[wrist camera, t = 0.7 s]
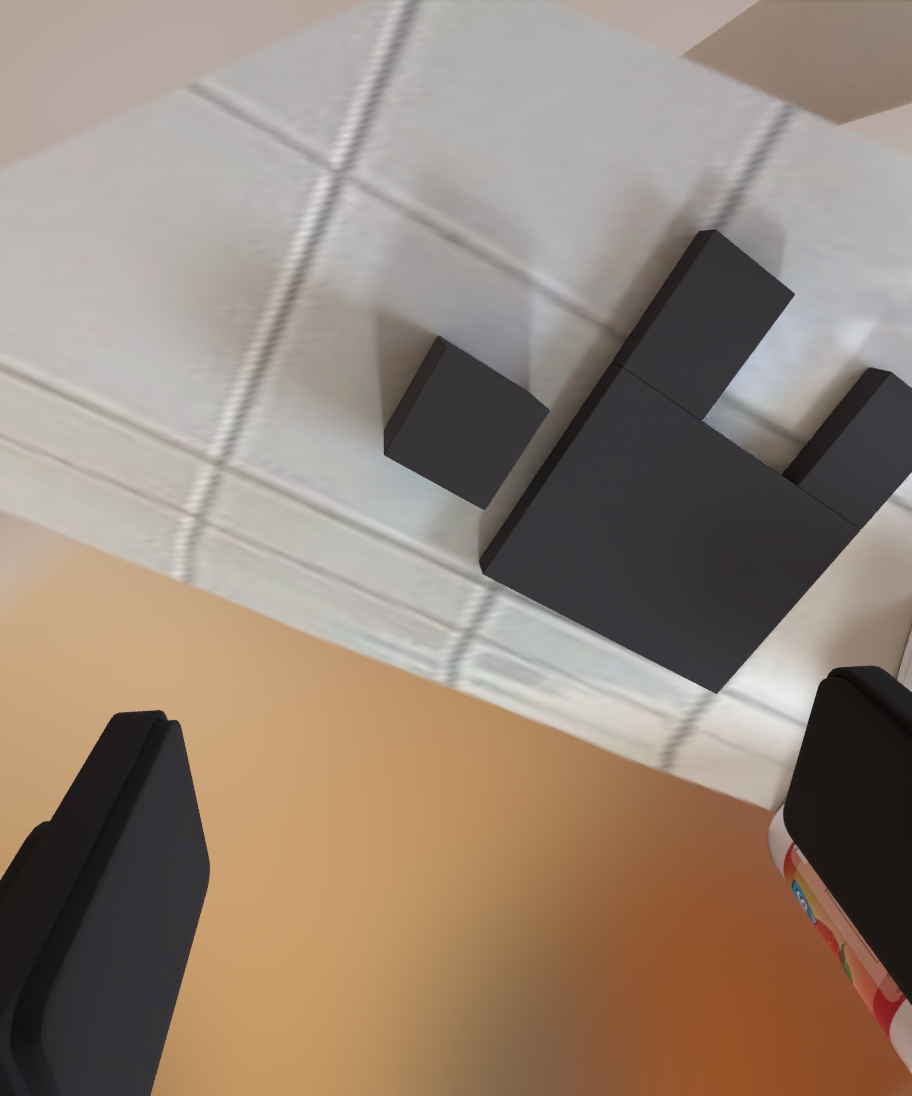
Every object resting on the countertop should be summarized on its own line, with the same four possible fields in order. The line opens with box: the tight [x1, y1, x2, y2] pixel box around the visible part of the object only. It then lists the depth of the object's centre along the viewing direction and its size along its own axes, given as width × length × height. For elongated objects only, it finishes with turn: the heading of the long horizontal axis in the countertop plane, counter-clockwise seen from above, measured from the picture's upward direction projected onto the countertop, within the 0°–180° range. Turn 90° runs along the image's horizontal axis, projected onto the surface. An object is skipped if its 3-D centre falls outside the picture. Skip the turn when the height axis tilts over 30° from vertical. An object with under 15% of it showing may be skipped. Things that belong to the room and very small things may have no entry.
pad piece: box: [384, 336, 549, 510], centre depth 28 cm, size 5×5×4 cm
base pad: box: [479, 230, 912, 694], centre depth 32 cm, size 18×16×2 cm
